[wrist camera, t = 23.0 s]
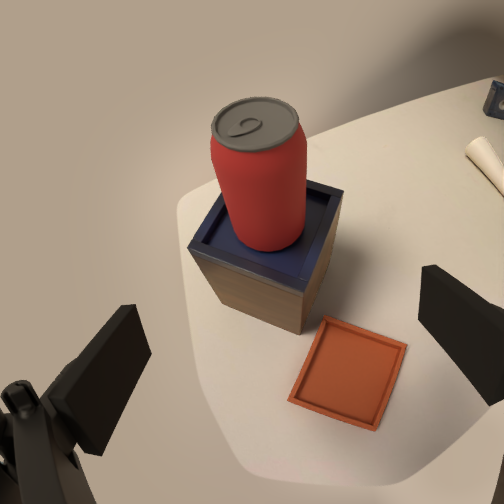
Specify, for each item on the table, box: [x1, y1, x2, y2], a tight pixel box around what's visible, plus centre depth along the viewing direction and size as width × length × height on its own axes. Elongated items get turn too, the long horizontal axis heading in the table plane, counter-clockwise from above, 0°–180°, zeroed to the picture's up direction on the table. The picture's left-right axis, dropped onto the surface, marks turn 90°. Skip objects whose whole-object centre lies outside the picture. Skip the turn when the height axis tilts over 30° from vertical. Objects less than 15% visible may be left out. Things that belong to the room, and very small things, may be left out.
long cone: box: [465, 137, 504, 196], centre depth 42 cm, size 6×6×19 cm
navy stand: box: [187, 179, 344, 335], centre depth 34 cm, size 11×11×15 cm
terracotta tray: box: [287, 315, 407, 431], centre depth 33 cm, size 11×11×2 cm
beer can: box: [211, 97, 307, 252], centre depth 23 cm, size 7×7×12 cm
